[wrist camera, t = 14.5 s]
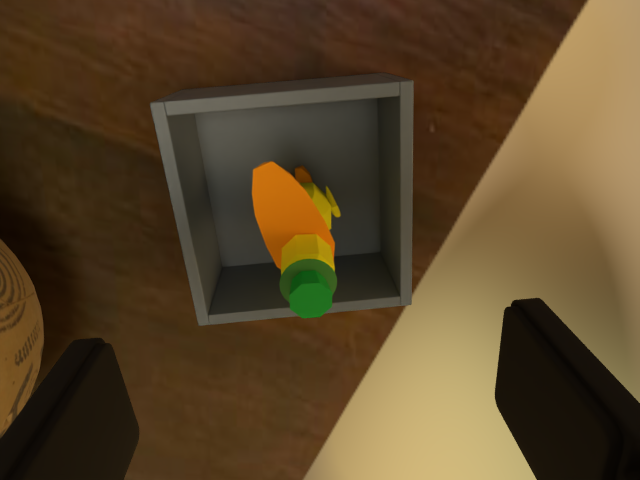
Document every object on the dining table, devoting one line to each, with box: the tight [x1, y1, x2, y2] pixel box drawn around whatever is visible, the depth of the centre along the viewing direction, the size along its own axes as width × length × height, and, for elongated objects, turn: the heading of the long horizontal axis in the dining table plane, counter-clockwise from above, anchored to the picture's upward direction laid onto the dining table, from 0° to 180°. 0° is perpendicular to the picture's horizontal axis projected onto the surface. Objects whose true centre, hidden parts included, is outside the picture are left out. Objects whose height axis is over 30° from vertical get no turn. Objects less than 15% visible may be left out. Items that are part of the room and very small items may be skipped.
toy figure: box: [252, 161, 341, 318], centre depth 21 cm, size 7×4×12 cm, turn 23°
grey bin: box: [150, 73, 414, 325], centre depth 24 cm, size 11×11×6 cm
